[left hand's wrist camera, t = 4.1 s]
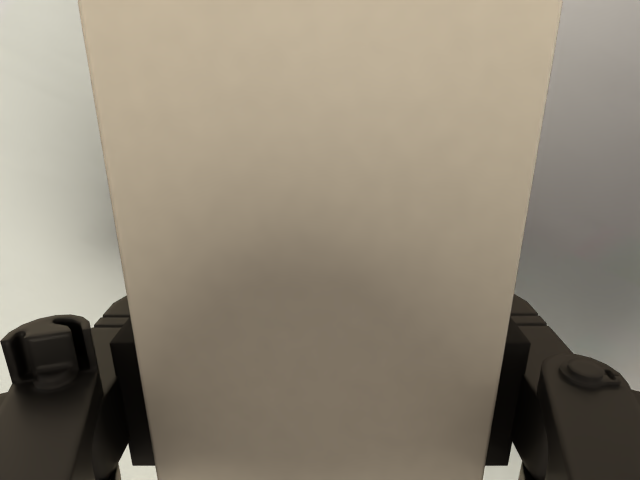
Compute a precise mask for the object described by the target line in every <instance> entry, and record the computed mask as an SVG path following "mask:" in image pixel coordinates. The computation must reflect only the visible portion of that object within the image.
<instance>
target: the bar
mask: <svg viewBox="0 0 640 480" xmlns="http://www.w3.org/2000/svg"><path fill="white" fill-rule="evenodd" d="M562 3H563V2H562V0H78V5H79V11H80V17H81V23H82V29H83V35H84V41H85V47H86V53H87V59H88V65H89V71H90V77H91V83H92V89H93V95H94V101H95V107H96V113H97V119H98V125H99V131H100V137H101V143H102V149H103V155H104V161H105V167H106V173H107V179H108V185H109V191H110V197H111V203H112V209H113V215H114V221H115V227H116V233H117V239H118V245H119V251H120V257H121V263H122V269H123V275H124V281H125V287H126V293H127V299H128V304H129V310H130V316H131V322H132V328H133V334H134V340H135V346H136V352H137V358H138V364H139V370H140V376H141V382H142V388H143V394H144V400H145V406H146V412H147V418H148V424H149V430H150V436H151V442H152V448H153V454H154V460H155V466H156V472H157V478H158V480H483V474H484V468H485V462H486V456H487V450H488V444H489V438H490V432H491V426H492V420H493V414H494V408H495V402H496V396H497V390H498V384H499V378H500V372H501V366H502V360H503V354H504V349H505V343H506V337H507V331H508V325H509V319H510V313H511V307H512V301H513V295H514V289H515V283H516V277H517V271H518V265H519V259H520V253H521V247H522V241H523V235H524V229H525V223H526V217H527V211H528V205H529V199H530V194H531V188H532V182H533V176H534V170H535V164H536V158H537V152H538V146H539V140H540V134H541V128H542V122H543V116H544V110H545V104H546V98H547V92H548V86H549V80H550V74H551V68H552V62H553V56H554V50H555V44H556V38H557V33H558V27H559V21H560V15H561V9H562Z"/></svg>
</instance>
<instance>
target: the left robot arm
mask: <svg viewBox="0 0 640 480" xmlns="http://www.w3.org/2000/svg"><path fill="white" fill-rule="evenodd" d="M546 324H547V323H546V322H545V321H544V320H543V319H542V318H541V317H540V316H538V313H537V312H536V311H535V310H534V309H533V308H532V307H531V305H530V304H529V303H528V302H527V301H525V300H523V299H522V298H520V297H518V296H516V295H515V294H514V295H513V301H512V307H511V313H510V319H509V325H508V331H507V337H506V343H505V349H504V354H503V360H502V366H501V372H500V378H499V384H498V390H497V396H496V402H495V408H494V414H493V420H492V426H491V432H490V438H489V444H488V450H487V456H486V462H485V466H508V461H509V456H510V451H511V445H512V442H513V444H514V445H515V447H516V449H517V451H518V453H519V455H520V457H521V459H522V464H521V469H520V474H519V479H518V480H640V392H639V391H635V390H631V388H630V386H629V384H628V383H627V381H626V380H625V379H624V378H623V377H622V376H621V374H620V373H618V372H617V371H616V370H614V369H613V368H611V367H610V366H608V365H607V364H604V363H602V362H600V361H597V360H595V359H592V358H589V357H585V356H581V355H577V354H573V353H572V352H571V350H570V349H569V348H568V347H567V346H566V345H565V344H564V343H563V341H562V340H561V339H560V338H559V337H558V336H557V335H556V334H555V332H554V331H553V330H552V329H551V328H550V327H549V326H547V325H546ZM0 342H1V345H2V349H3V352H4V356H5V359H6V363H7V366H8V370H9V373H10V377H11V380H12V385H11V387H10V389H9V391H8V392H6V393H2V394H0V480H121V475H120V469H119V464H118V462H119V460H120V458H121V456H122V454H123V452H124V450H125V448H126V446H127V444H129V449H130V454H131V459H132V465H133V466H155V460H154V454H153V448H152V442H151V436H150V430H149V424H148V418H147V412H146V406H145V400H144V394H143V388H142V382H141V376H140V370H139V364H138V358H137V352H136V346H135V340H134V334H133V328H132V322H131V316H130V310H129V304H128V299H127V296H125V297H123V298H122V299H120V300H118V301H116V302H115V303H113V304H112V305H111V307H110V308H109V309H108V310H107V311H106V312H105V313H104V314H103V318H100V319H99V320H98V321H97V322H96V324H95V325H94V328H91V327H90V323H89V321H88V320H86V319H85V318H84V317H81V316H76V315H55V316H50V317H45V318H40V319H37V320H34V321H31V322H29V323H26V324H23V325H21V326H19V327H18V328H16V329H14V330H12V331H11V332H9V333H8V334H7V335H6V336H5V337H4V338H3V339H2V340H1V341H0Z"/></svg>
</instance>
